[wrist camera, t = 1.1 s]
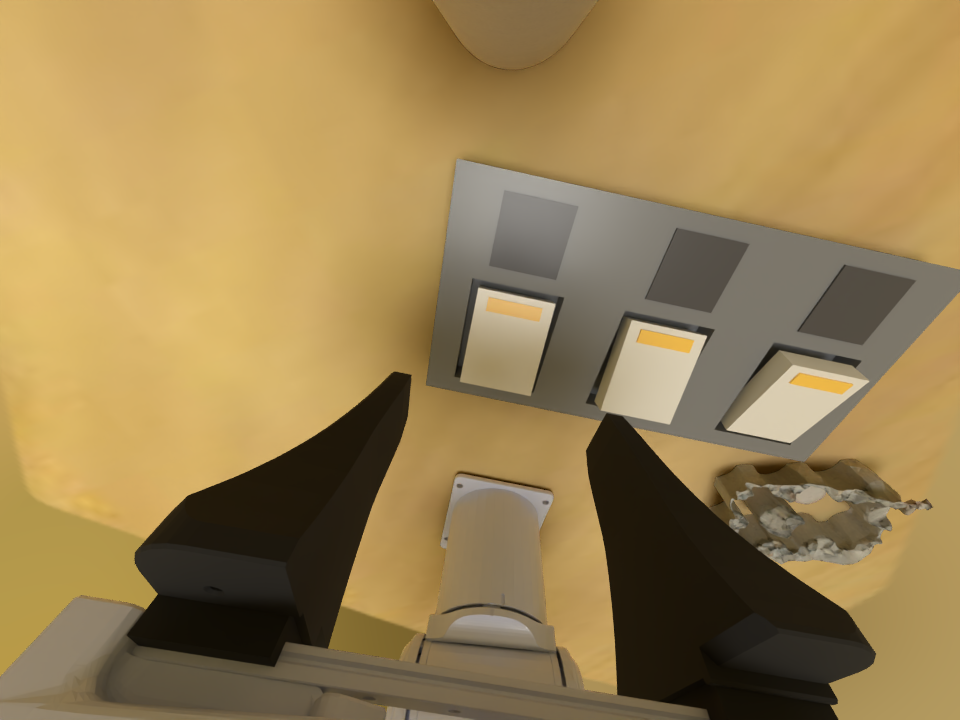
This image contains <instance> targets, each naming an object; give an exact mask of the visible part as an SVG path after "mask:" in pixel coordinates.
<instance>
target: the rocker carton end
mask: <svg viewBox="0 0 960 720" xmlns="http://www.w3.org/2000/svg"><path fill="white" fill-rule="evenodd" d="M868 382H869V380H868V379H867V378H866V377H865V376H863V375H862V374H861V373H860V372H859V371H858V370H857V369H855V368H854V367H853V366H852V365H847V364H842V363H837V362H833V361H828V360H823V359H818V358H814V357H809V356H804V355H800V354H795V353H790V352H785V351H781V350H779V351H778V352H777V353H776V354H775V355H774V356H773V357H772V358H771V359H770V360H769V361H768V362H767V363H766V364H765V366H764V367H763V368H762V369H761V370H760V371H759V372H758V373H757V374H756V375H755V376H754V377H753V378H752V379H751V380H750V381H749V382H748V383H747V384H746V385H745V386H744V387H743V388H742V390H741V391H740V393H739V394H738V396H737V397H736V399H735V400H734V401H733V403H732V404H731V406H730V407H729V409H728V410H727V412H726V413H725V415H724V416H723V417H722V419H721V422H722V424H723V425H724V427H725V429H726V430H728V431H733V432H738V433H743V434H748V435H753V436H758V437H763V438H768V439H773V440H777V441H782V442H787V443H791V442H793V441H794V440H795V439H797V438H798V437H799V436H800V435H802V434H803V433H804V432H806V431H807V430H808V429H809V428H811V427H812V426H813V425H814V424H816V423H817V422H818V421H820V420H821V419H822V418H823V417H825V416H826V415H827V414H829V413H830V412H831V411H832V410H834V409H835V408H836V407H837V406H839V405H840V404H841V403H843V402H844V401H845V400H846V399H848V398H849V397H850V396H852V395H853V394H854V393H855V392H857V391H858V390H859V389H860V388H862V387H863V386H864V385H866V384H867V383H868Z"/></svg>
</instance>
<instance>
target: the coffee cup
mask: <svg viewBox="0 0 960 720" xmlns="http://www.w3.org/2000/svg"><path fill="white" fill-rule="evenodd" d="M432 1H433V2H434V4H435V5H436V7H437V8H438V10H439V11H440V13H441V14H442V16H443V17H444V19H445V20H446V22H447V23H448V25H449V26H450V28H451V29H452V31H453V32H454V34H455V35H456V36H457V38H458V39H459V41H460V42H461V43H462V44H463V46H464V47H465V48H466V49H467V50H468V51H469V52H470V53H471V54H472V55H474V56H475V57H476V58H478V59H479V60H481V61H482V62H484V63H486V64H488V65H490V66H493V67H496V68H500V69H506V70H518V69H525V68H529V67H532V66H534V65H537V64H539V63H541V62H543V61H545V60H546V59H548V58H549V57H551V56H552V55H553V54H555V53H556V52H557V51H558V50H559V49H560V48H562V47H563V46H564V44H565V43H566V42H567V41H568V40H569V39H570V38H571V36H572V35H573V34H574V32H575V31H576V30H577V28H578V27H579V26H580V24H581V23H582V22H583V20H584V19H585V18H586V16H587V15H588V14H589V12H590V11H591V10H592V8H593V7H594V6H595V4H596V3H597V1H598V0H432Z"/></svg>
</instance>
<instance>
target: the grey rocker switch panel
mask: <svg viewBox="0 0 960 720" xmlns="http://www.w3.org/2000/svg"><path fill="white" fill-rule="evenodd" d="M479 286H484V287H489V288H493V289H498V290H503V291H508V292H512V293H517V294H522V295H527V296H531V297H536V298H541V299H545V300H550V301H553V302H554V303H555V304H556V305H555V308H554V312H553V316H552V319H551V323H550V327H549V330H548V334H547V338H546V341H545V345H544V349H543V352H542V356H541V360H540V363H539V367H538V371H537V374H536V378H535V382H534V385H533V389H532V393H531V396H527V395H522V394H517V393H512V392H508V391H503V390H498V389H493V388H488V387H483V386H478V385H473V384H468V383H463V382H460V378H461V373H462V368H463V363H464V358H465V353H466V348H467V343H468V338H469V333H470V328H471V323H472V318H473V313H474V308H475V303H476V298H477V293H478V288H479ZM959 292H960V270H959V269H954V268H950V267H945V266H940V265H936V264H931V263H927V262H922V261H918V260H913V259H909V258H904V257H900V256H895V255H891V254H886V253H882V252H877V251H873V250H868V249H864V248H859V247H855V246H850V245H846V244H841V243H836V242H832V241H827V240H823V239H818V238H814V237H809V236H805V235H800V234H796V233H791V232H787V231H782V230H778V229H773V228H769V227H764V226H760V225H755V224H751V223H746V222H742V221H737V220H732V219H728V218H723V217H719V216H714V215H710V214H705V213H701V212H696V211H692V210H687V209H683V208H678V207H674V206H669V205H665V204H660V203H656V202H651V201H647V200H642V199H638V198H633V197H629V196H624V195H619V194H615V193H610V192H606V191H601V190H597V189H592V188H588V187H583V186H579V185H574V184H570V183H565V182H561V181H556V180H552V179H547V178H543V177H538V176H534V175H529V174H525V173H520V172H515V171H511V170H506V169H502V168H497V167H493V166H488V165H484V164H479V163H475V162H470V161H466V160H461V159H457V161H456V169H455V176H454V183H453V191H452V198H451V205H450V213H449V220H448V227H447V235H446V242H445V249H444V256H443V264H442V271H441V278H440V286H439V293H438V300H437V308H436V315H435V322H434V330H433V337H432V344H431V352H430V359H429V366H428V374H427V381H426V385H427V386H432V387H437V388H442V389H447V390H452V391H457V392H462V393H467V394H472V395H477V396H481V397H486V398H491V399H496V400H501V401H506V402H511V403H516V404H521V405H526V406H531V407H536V408H541V409H546V410H550V411H555V412H560V413H565V414H570V415H575V416H580V417H585V418H590V419H595V420H600V421H602V420H603V418H604V416H605V415H606V413H609V414H614V415H619V416H623V417H624V418H625V419H626V420H627V421H628V422H629V424H630V425H631V426H632V427H634V428H639V429H644V430H649V431H654V432H659V433H664V434H669V435H674V436H679V437H684V438H689V439H693V440H698V441H703V442H708V443H713V444H718V445H723V446H728V447H733V448H738V449H743V450H748V451H753V452H758V453H762V454H767V455H772V456H777V457H782V458H787V459H792V460H797V461H802V462H805V461H806V460H807V459H808V457H809V456H810V455H811V454H812V453H813V452H814V451H815V450H816V449H817V448H818V446H819V445H820V444H821V443H822V442H823V441H824V440H825V439H826V438H827V437H828V436H829V434H830V433H831V432H832V431H833V430H834V429H835V428H836V427H837V426H838V425H839V423H840V422H841V421H842V420H843V419H844V418H845V417H846V416H847V415H848V414H849V412H850V411H851V410H852V409H853V408H854V407H855V406H856V405H857V404H858V403H859V401H860V400H861V399H862V398H863V397H864V396H865V395H866V394H867V393H868V392H869V391H870V389H871V388H872V387H873V386H874V385H875V384H876V383H877V382H878V381H879V380H880V378H881V377H882V376H883V375H884V374H885V373H886V372H887V371H888V370H889V369H890V367H891V366H892V365H893V364H894V363H895V362H896V361H897V360H898V359H899V358H900V357H901V355H902V354H903V353H904V352H905V351H906V350H907V349H908V348H909V347H910V346H911V344H912V343H913V342H914V341H915V340H916V339H917V338H918V337H919V336H920V335H921V333H922V332H923V331H924V330H925V329H926V328H927V327H928V326H929V325H930V324H931V323H932V321H933V320H934V319H935V318H936V317H937V316H938V315H939V314H940V313H941V312H942V310H943V309H944V308H945V307H946V306H947V305H948V304H949V303H950V302H951V301H952V299H953V298H954V297H955V296H956V295H957V294H958V293H959ZM623 316H626V317H630V318H635V319H640V320H645V321H649V322H654V323H659V324H664V325H668V326H673V327H678V328H682V329H687V330H692V331H695V332H698V333H701V334H703V335H706V336H707V338H706V340H705V343H704V345H703V347H702V350H701V352H700V354H699V357H698V359H697V361H696V364H695V366H694V369H693V371H692V373H691V376H690V378H689V380H688V383H687V385H686V387H685V390H684V392H683V395H682V397H681V399H680V402H679V404H678V406H677V409H676V411H675V413H674V416H673V418H672V421H671V423H670V424H665V423H660V422H655V421H650V420H645V419H640V418H635V417H630V416H625V415H620V414H616V413H611V412H606V411H601V410H600V409H599V407H598V406H597V405H596V403H595V402H594V401H595V398H596V395H597V392H598V389H599V386H600V383H601V380H602V377H603V374H604V372H605V369H606V366H607V363H608V360H609V357H610V354H611V351H612V348H613V345H614V342H615V339H616V336H617V333H618V330H619V327H620V324H621V321H622V318H623ZM779 350H781V351H785V352H790V353H795V354H800V355H804V356H809V357H814V358H818V359H823V360H828V361H833V362H837V363H842V364H847V365H852V366H853V367H854V368H855V369H857V370H858V371H859V372H860V373H861V374H862V375H863V376H865V377H866V378H867V379H868V380H869V382H868V383H867V384H866V385H864V386H863V387H862V388H860V389H859V390H858V391H857V392H855V393H854V394H853V395H852V396H850V397H849V398H848V399H846V400H845V401H844V402H843V403H841V404H840V405H839V406H837V407H836V408H835V409H834V410H832V411H831V412H830V413H829V414H827V415H826V416H825V417H823V418H822V419H821V420H820V421H818V422H817V423H816V424H814V425H813V426H812V427H811V428H809V429H808V430H807V431H806V432H804V433H803V434H802V435H800V436H799V437H798V438H797V439H795V440H794V441H793V442H791V443H787V442H782V441H777V440H773V439H768V438H763V437H758V436H753V435H748V434H743V433H738V432H733V431H728V430H726V429H725V427H724V425H723V424H722V422H721V419H722V417H723V416H724V415H725V413H726V412H727V410H728V409H729V407H730V406H731V404H732V403H733V401H734V400H735V399H736V397H737V396H738V394H739V393H740V391H741V390H742V388H743V387H744V386H745V385H746V384H747V383H748V382H749V381H750V380H751V379H752V378H753V377H754V376H755V375H756V374H757V373H758V372H759V371H760V370H761V369H762V368H763V367H764V366H765V364H766V363H767V362H768V361H769V360H770V359H771V358H772V357H773V356H774V355H775V354H776V353H777V352H778V351H779Z"/></svg>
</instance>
